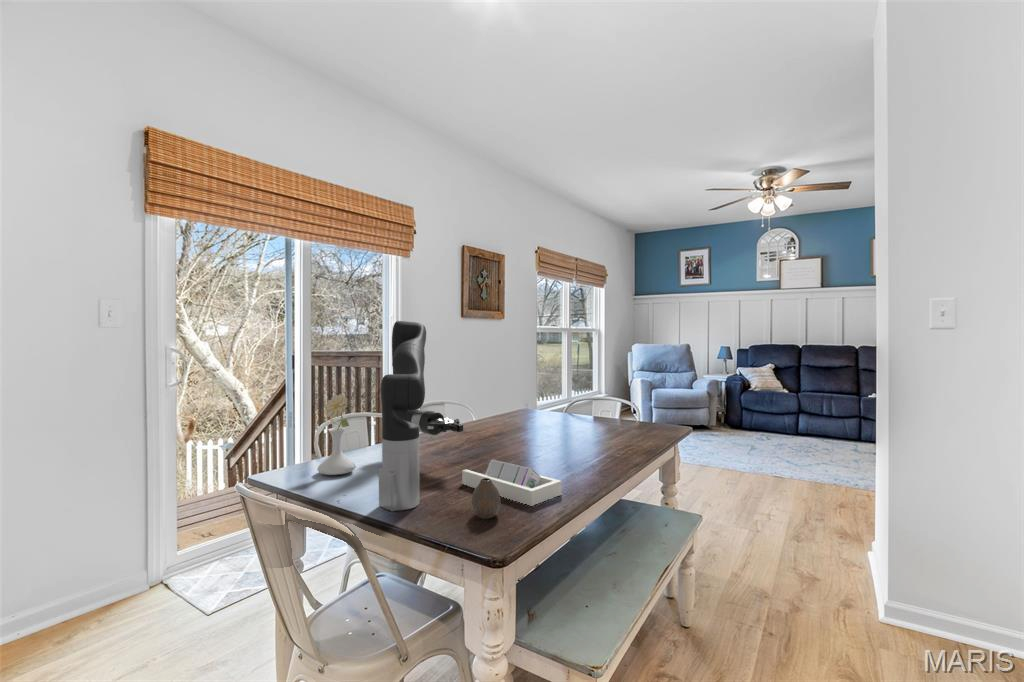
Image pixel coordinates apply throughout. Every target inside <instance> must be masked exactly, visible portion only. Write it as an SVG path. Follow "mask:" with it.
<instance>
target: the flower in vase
mask: <svg viewBox="0 0 1024 682" xmlns="http://www.w3.org/2000/svg"><path fill="white" fill-rule="evenodd" d="M346 408H348V398H347V397H346V396H344V395H343V394H341V393H340V394H338V395H337V394H335V395H334V396H332V397H331V399H328V401H327V404H326V405H325V416H326V417H328V418H329V419H330V421H331V422H332V423H334V424H336V425H338V427H332V428H328V429H327V430H328V432H329V433H330V435H331V439H332V452H331V453H330V455H329V456H327V458H325V459H324V460H323V461H322V462H320V463H319V465H318V467H317V472H318V473H319V474H321V475H326V476H339V475H344V474H348V473H350V472H353V471H354V470H355V469H356V468H357V466H356V463H355V461H353V460H352V459H350V458H349V457H348V456H346V455H345V454H344V453H343V452H342V449H341V447H342V446H341V442H342V435H343V433H344V432H345V430H346V428H347V427H349V426H350V425H349V422H348V421H349V420H348V419H347V418H344V419H343V412H345V411H346ZM340 416H341V418H340V419H341V420H340V422H339V421H337V420H335V418H336V417H337V418H338V417H340ZM345 427H346V428H345Z"/></svg>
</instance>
